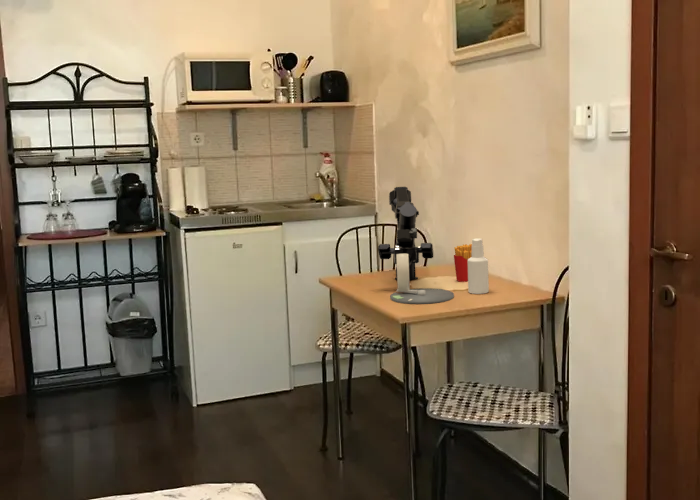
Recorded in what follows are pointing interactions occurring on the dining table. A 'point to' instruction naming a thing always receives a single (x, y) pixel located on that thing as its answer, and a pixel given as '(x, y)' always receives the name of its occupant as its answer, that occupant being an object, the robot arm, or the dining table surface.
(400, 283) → the tall cream cylinder
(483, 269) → the spray bottle
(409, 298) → the grey round platter
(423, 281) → the dining table surface
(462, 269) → the french fries
